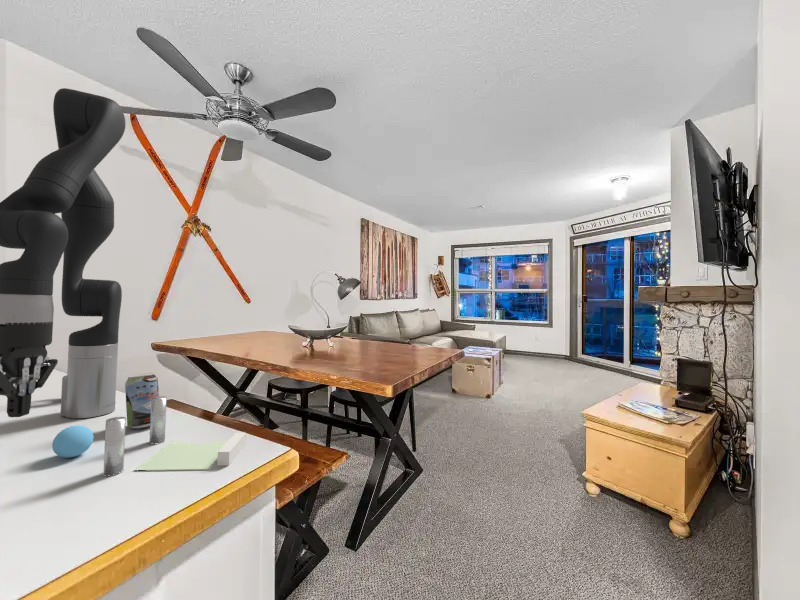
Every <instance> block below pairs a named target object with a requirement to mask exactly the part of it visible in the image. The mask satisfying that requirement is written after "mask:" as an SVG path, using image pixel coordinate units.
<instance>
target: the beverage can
mask: <svg viewBox="0 0 800 600" xmlns="http://www.w3.org/2000/svg"><path fill="white" fill-rule="evenodd" d="M158 378H159V377H157V376H156V374H155V373H154V372H149V373H142V374H135V375H130V376H128V377H127V379H126V381H125V383H124V388H125V389H124V391H125V407H126V409H125V410H126V426H127V427H130V428H131V429H142V428H146V427H150V418H151V399H152V398H154V397H159V396H160V393H159V392H160V391H159V379H158Z"/></svg>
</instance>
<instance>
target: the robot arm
mask: <svg viewBox="0 0 800 600" xmlns="http://www.w3.org/2000/svg"><path fill="white" fill-rule="evenodd" d="M52 103H53V106H52V109H53V110H52V111H53V120H54V127H55V134H56V141H57V147H58V148H57V149H56V150H54V151H52V152H51V153H48V154H47V155H46V156H44V157H43V158H41V159H40V160H39V161H38V162H37V163H36V164H35V165H34V167H33V169H32V170H31V171H30V173H29V175H28V177H27V178H26V180H25V181H24V183H23V184H22V186H20V187H19V188H18V189H16V190H15V191H13V192H12V193H11V194H9V195H8V196H7V197H5V198H4V199H3V200H2V201H0V247H2V248H5V249H14V250H15V249H18V250H19V249H20V250H24V251H23V252H22V254H21V255H20V258H17V259H15V260H9V261H4V262H2V263H0V396H5V397H6V398H7V400H6V414H7V416H8V417H9V418H21V417H24V416H27V415H29V414H30V411H31V408H32V407H31V406H32V394H34V392H36V391H35V390H37V389H41V388H43V387H44V385H45V383H46V382H47V380H48V379H49V377H50V376H51V374H52V372H54V370H55V368H56V366H57V365H58V361H59V360H58V359H57V358H50V357H49V356H48V351H47V348H46V346H50V345H51V344H52V342H53V329H54V313H55V312H54V310H55V309H54V301H53V299H54V298H53V292H54V275H55V272H56V270H57V268H58V266H59V263H60V261H61V259H62V258H63V264H62V276H61V277H62V279H61V280H62V281H61V305H62V310H63V312H64V314H65V315H67V316H69V317H102V318H101V321H100V322H99V323H97V324H95V325H93V326H91V327H88V328H84V329H81V330H76V331H73V332H71V333H70V334H69V336H68V348H67V349H68V351H67V369H66V370H67V371H66V375H64V376H62V377H61V395H60V397H61V399H60V415H59V416H60V417H66V418H69V419H87V418H93V417H94V418H95V417H99V416H103V415H104V416H105V415H107V414H110V413H112V412H114V411H115V410H116V399H117V398H116V393H117V378H118V377H117V375H118V373H117V372H118V357H119V356H118V354H119V352H118V350H119V328H120V316H121V307H122V296H123V291H122V286H121V284H120V282H118V281H116V280H110V279H94V278H93V279H91V278H83V273H84V270H85V266H86V265H87V263H88V261H89V260H90V258H91V257H92V256H93V254H94V253H95V252H96V251H97V250H98V249H99V248H100V246H102V244H103V243H104V242H105V241H106V240H107V239H108V237H110V235H111V234H112V232H113V230H114V228H115V201H114V198H113V196H112V194H111V192H110V190H109V189H108V188H107V186H106V184H105V183H104V182H103V180H102V178H101V177H100V175H99V174H98V173H97V171H96V170H95V169H96V168H97V166H98V165H100V163H101V162H102V161H103V160H104V159H105V158H106V157H107V156H108V155H109V153H110V152H111V151H112V150H113V149H114V148H115V147H116V146H117V144H118V143H119V142H120V141H121V139H122V138H123V136H124V133H125V131H126V117H125V113H124V110H123V109H122V107H121V105H120V104H118V103H117V101H115V100H114V99H111V98H108V97H106V96H102V95H97V94H94V93H89V92H85V91H80V90H76V89H72V88H65V87H63V88H59V89H58V90H57V91H56V92H55V94H54V96H53V102H52ZM57 214H60V215H61V217H60V216H59V215H57ZM62 256H63V257H62Z"/></svg>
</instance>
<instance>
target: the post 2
mask: <svg viewBox="0 0 800 600" xmlns="http://www.w3.org/2000/svg"><path fill="white" fill-rule="evenodd" d="M167 398H168V397H167V396H163V395H162V396H161V395H159V397H154V398H152V399H151V418H150V426H149V442H150V443H154V444H153V445H156V444H155V443H159V444H162V443H164V442H165V441H166V424H167V423H166V422H167V420H166V419H167V418H166V417H167V400H168V399H167ZM163 441H164V442H163ZM161 442H162V443H161ZM150 443H149V444H150Z"/></svg>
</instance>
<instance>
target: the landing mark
mask: <svg viewBox="0 0 800 600" xmlns="http://www.w3.org/2000/svg"><path fill="white" fill-rule="evenodd" d="M181 441H182V440H172V441H170V442H169V443H168V444H166V445H165V446H164V447H162V448H160V450H158V451H157V452H156V453H155V454H153V455H151V456H150V457H149V458H148V459H146V460H145V461H144V462H143V463H141V464H140V465H138V466H137V467H136V468H135V469H134V470H137V471H136V472H139V471H138V470H146V471H145V472H156V471H157V472H160V471H162V472H163V471H164V472H166V471H167V472H168V471H169V472H170V471H173V472H175V471H208V470H209V469H210V468H211V467H212V466H213V465H214V464H215V462H216V461H218V451H219V450H220V449H221V448H222V447H223V446H224V445H225V444H226V443H227V442H228V441H229V440H211V441H212V442H211V443H206V444H203V443H202V444H201V445H200V444H196V443H192V442H191V443H189V444H188V443H187V442H185V443H183V442H181ZM199 445H200V446H199ZM213 463H214V464H213ZM212 464H213V465H212Z"/></svg>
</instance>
